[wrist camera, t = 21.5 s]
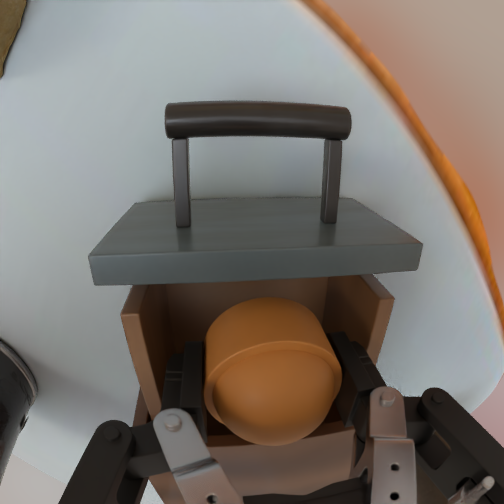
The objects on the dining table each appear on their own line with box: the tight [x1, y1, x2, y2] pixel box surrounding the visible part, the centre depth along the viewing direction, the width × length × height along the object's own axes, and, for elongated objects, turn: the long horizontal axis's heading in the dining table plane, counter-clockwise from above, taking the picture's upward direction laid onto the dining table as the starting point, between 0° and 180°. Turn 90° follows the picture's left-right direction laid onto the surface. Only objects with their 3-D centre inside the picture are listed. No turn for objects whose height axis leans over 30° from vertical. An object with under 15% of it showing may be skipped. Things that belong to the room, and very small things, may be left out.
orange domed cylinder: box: [203, 297, 342, 446], centre depth 11 cm, size 5×5×5 cm
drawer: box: [88, 101, 423, 436], centre depth 16 cm, size 19×12×7 cm, turn 0°
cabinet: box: [133, 387, 355, 504], centre depth 21 cm, size 16×14×9 cm
